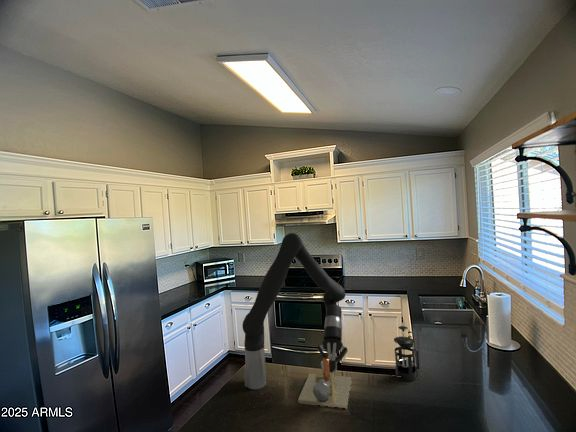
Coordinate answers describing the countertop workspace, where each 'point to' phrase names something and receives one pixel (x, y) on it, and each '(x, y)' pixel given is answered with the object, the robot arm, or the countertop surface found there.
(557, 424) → the countertop surface
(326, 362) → the valve lever
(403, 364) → the french press
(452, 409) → the countertop surface
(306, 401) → the valve
